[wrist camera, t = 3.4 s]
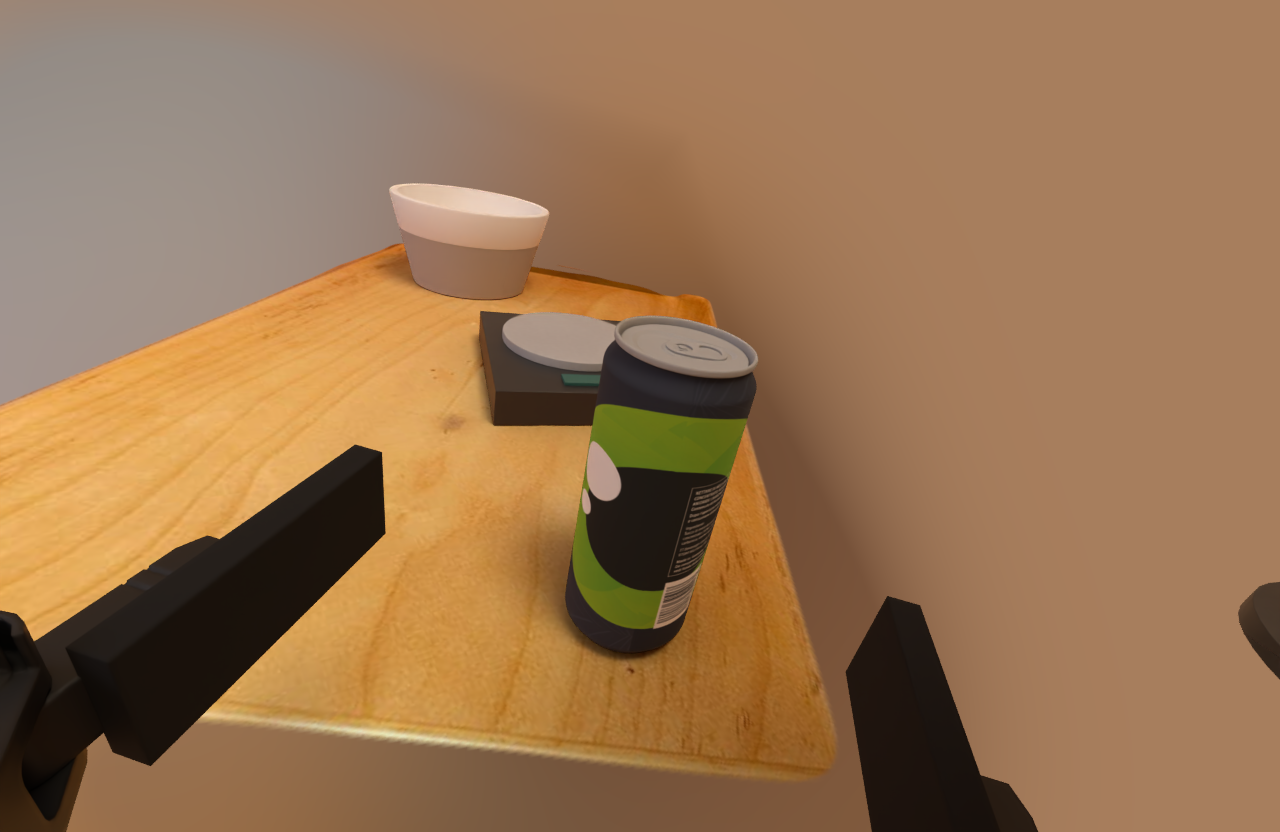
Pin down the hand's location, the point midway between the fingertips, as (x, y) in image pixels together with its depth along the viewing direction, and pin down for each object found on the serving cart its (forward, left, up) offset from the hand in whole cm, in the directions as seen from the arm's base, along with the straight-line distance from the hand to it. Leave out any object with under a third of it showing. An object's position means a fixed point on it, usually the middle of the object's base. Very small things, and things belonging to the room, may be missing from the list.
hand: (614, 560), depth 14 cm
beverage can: (-5, -8, -12) cm, 16 cm away
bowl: (0, -65, -12) cm, 67 cm away
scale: (-8, -36, -12) cm, 39 cm away
